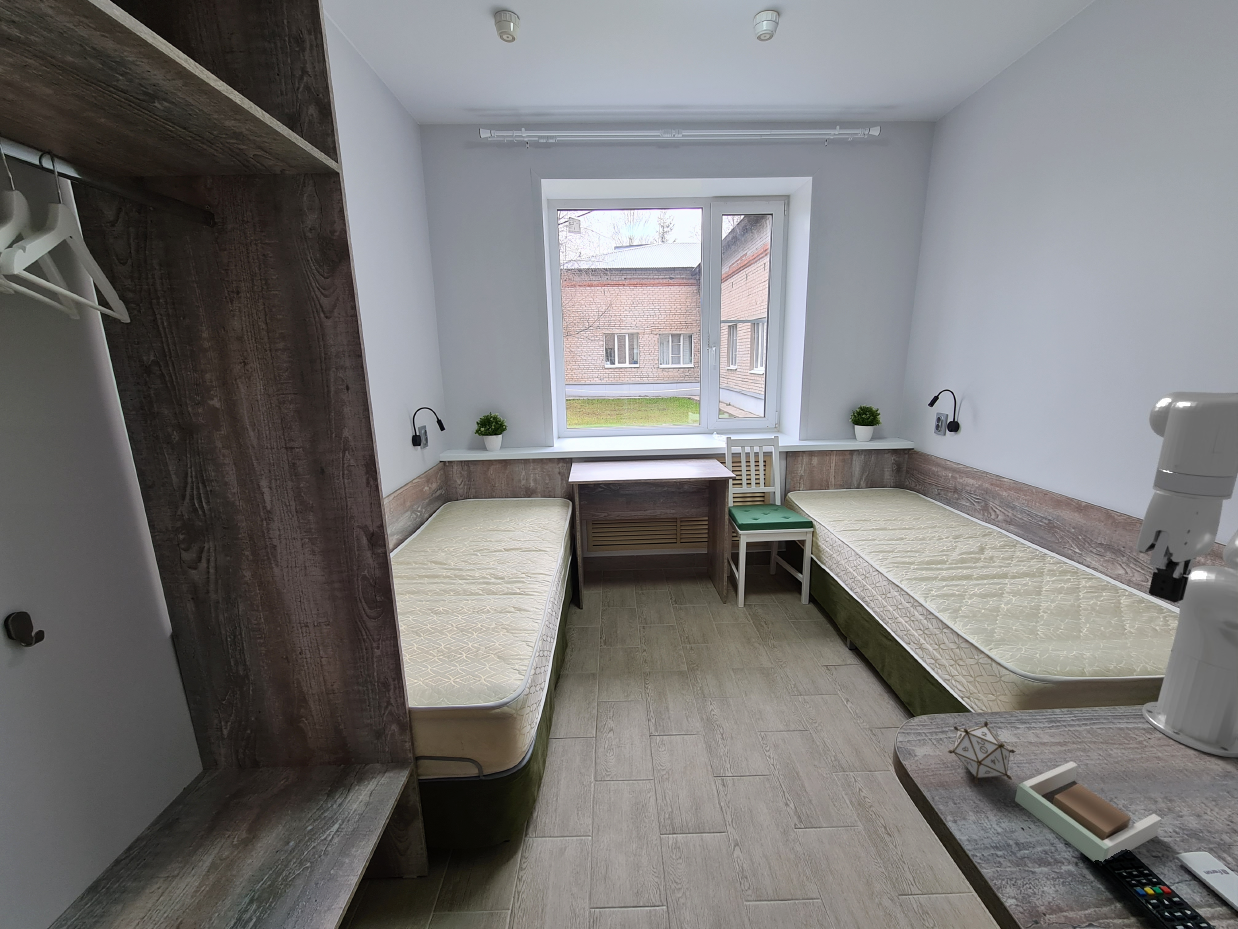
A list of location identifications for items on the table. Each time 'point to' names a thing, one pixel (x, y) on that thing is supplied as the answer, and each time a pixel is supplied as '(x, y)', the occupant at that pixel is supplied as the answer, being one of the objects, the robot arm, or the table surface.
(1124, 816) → the walnut block
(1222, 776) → the table surface
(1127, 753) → the table surface
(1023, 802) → the walled bay
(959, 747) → the game die
